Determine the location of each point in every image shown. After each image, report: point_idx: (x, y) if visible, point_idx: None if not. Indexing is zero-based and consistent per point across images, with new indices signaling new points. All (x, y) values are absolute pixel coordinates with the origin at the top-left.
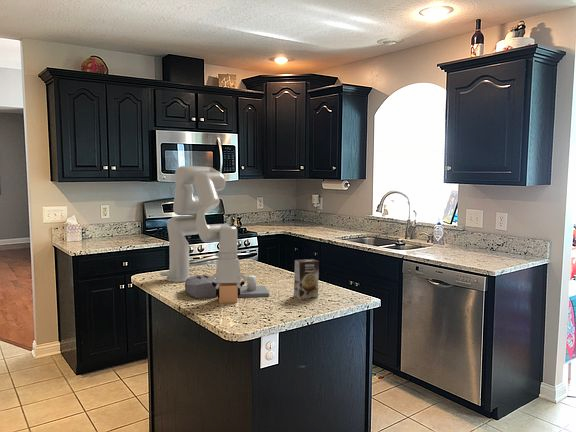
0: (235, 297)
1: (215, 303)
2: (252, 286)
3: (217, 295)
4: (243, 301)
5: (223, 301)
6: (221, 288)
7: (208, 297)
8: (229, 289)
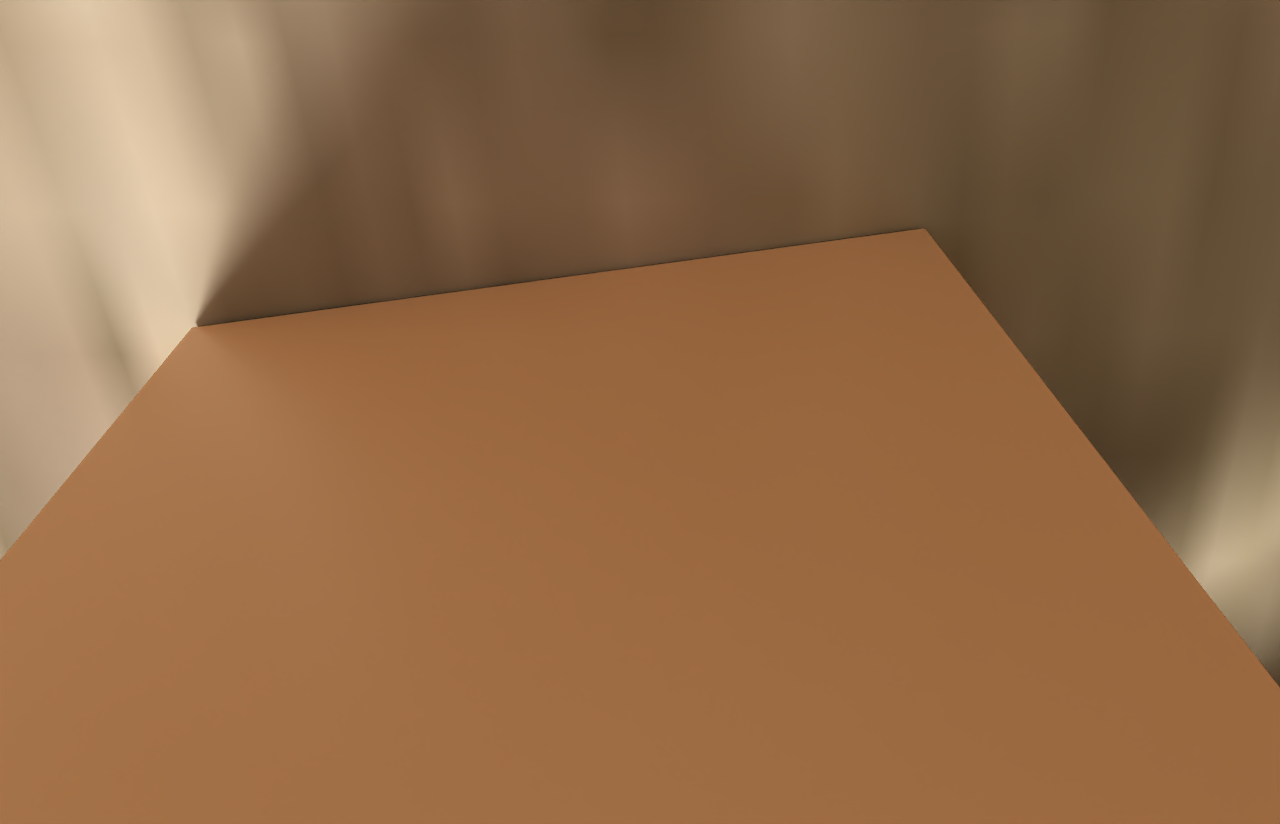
0: (198, 422)
1: (1096, 161)
2: None
3: None
4: (6, 458)
5: (766, 272)
6: (1106, 717)
7: None
8: (427, 710)
